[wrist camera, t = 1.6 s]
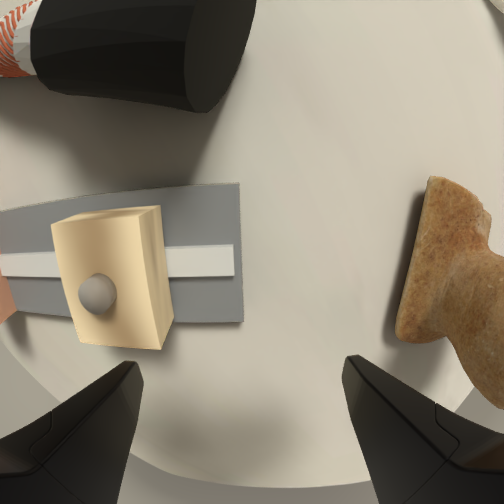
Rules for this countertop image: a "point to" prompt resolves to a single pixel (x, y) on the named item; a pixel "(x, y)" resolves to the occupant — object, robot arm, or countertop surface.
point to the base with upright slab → (498, 4)
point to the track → (175, 243)
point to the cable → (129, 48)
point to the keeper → (116, 276)
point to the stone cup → (457, 286)
